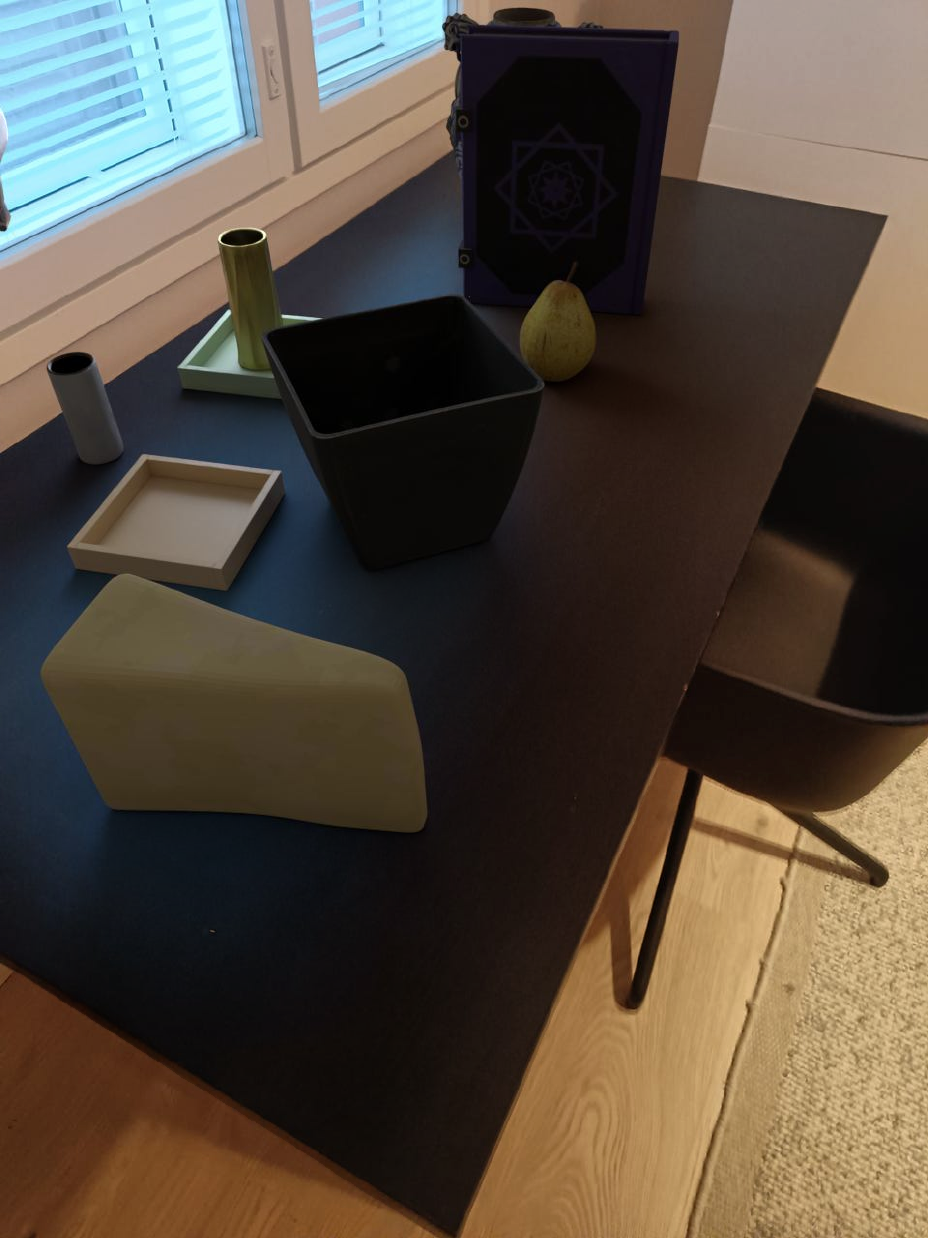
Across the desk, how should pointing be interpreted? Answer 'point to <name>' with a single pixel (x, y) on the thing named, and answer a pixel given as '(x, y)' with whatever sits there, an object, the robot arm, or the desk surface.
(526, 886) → the desk surface
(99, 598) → the cheese
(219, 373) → the vase tray
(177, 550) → the tray
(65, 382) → the grey tapered cylinder
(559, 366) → the fruit
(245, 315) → the vase
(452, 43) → the decorative vase
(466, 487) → the flower pot
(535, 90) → the book
